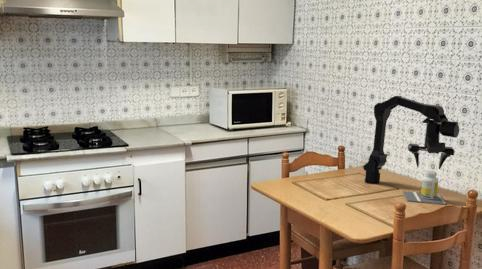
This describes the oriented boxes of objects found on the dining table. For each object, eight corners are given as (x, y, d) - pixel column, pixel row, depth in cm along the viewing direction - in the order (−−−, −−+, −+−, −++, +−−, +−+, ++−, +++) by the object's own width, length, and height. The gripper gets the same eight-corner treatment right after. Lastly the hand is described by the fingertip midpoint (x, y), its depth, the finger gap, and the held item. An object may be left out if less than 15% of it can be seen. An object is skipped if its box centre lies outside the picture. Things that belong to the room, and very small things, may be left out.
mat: (407, 201, 202) (407, 199, 202) (402, 192, 215) (402, 190, 215) (446, 204, 199) (446, 203, 199) (439, 195, 212) (439, 194, 212)
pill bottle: (435, 196, 209) (438, 171, 207) (436, 200, 203) (439, 174, 201) (420, 194, 211) (422, 169, 209) (420, 198, 205) (423, 172, 203)
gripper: (413, 135, 202) (409, 170, 204) (459, 138, 198) (454, 174, 201) (409, 131, 212) (405, 164, 215) (453, 134, 208) (449, 168, 211)
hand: (428, 168), depth 210 cm, fingers open, 9 cm apart
